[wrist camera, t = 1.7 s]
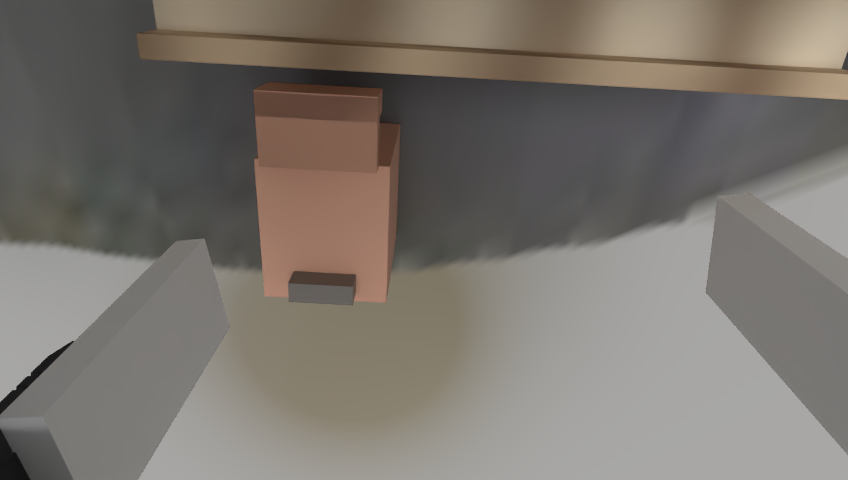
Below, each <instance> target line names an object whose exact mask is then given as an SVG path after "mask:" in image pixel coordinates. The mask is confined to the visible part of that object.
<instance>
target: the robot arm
mask: <svg viewBox="0 0 848 480" xmlns="http://www.w3.org/2000/svg"><path fill="white" fill-rule="evenodd" d="M706 293H707V294H708V295H709V296H710V298H711V299H712V300H713V301H714V302H715V303H716V305H717V306H718V307H719V308H720V309H721V310H722V311H723V313H724V314H725V315H726V316H727V317H728V318H729V319H730V320H731V322H732V323H733V324H734V325H735V326H736V327H737V329H738V330H739V331H740V332H741V333H742V334H743V335H744V337H745V338H746V339H747V340H748V341H749V342H750V343H751V345H752V346H753V347H754V348H755V349H756V350H757V351H758V352H759V354H760V355H761V356H762V357H763V358H764V359H765V360H766V362H767V363H768V364H769V365H770V366H771V367H772V369H773V370H774V371H775V372H776V373H777V374H778V375H779V376H780V378H781V379H782V380H783V381H784V382H785V383H786V385H787V386H788V387H789V388H790V389H791V390H792V392H794V394H795V395H796V396H797V397H798V398H799V399H800V401H801V402H802V403H803V404H804V405H805V406H806V408H807V409H808V410H809V411H810V412H811V413H812V414H813V416H815V418H816V419H817V420H818V421H819V422H820V423H821V425H822V426H823V427H824V428H825V429H826V430H827V431H828V433H829V434H830V435H831V436H832V437H833V438H834V439H835V441H836V442H837V443H838V444H839V445H840V446H841V448H842V449H843V450H844V451H845V452H846V453H847V454H848V259H847V258H846V257H844V256H842V255H841V254H840V253H838V252H837V251H835V250H834V249H832V248H831V247H829V246H828V245H826V244H825V243H823V242H822V241H820V240H819V239H817V238H816V237H814V236H813V235H811V234H810V233H808V232H806V231H805V230H804V229H802V228H801V227H799V226H798V225H796V224H795V223H793V222H792V221H790V220H789V219H787V218H786V217H784V216H783V215H781V214H780V213H778V212H777V211H775V210H774V209H772V208H771V207H769V206H768V205H766V204H765V203H763V202H762V201H760V200H759V199H757V198H756V197H754V196H753V195H751V194H750V193H748V194H736V195H724V196H718V200H717V208H716V216H715V223H714V232H713V239H712V248H711V255H710V263H709V271H708V280H707V287H706ZM229 328H230V326H229V323H228V320H227V316H226V312H225V309H224V305H223V302H222V298H221V295H220V291H219V288H218V284H217V281H216V277H215V274H214V270H213V267H212V263H211V260H210V256H209V253H208V249H207V246H206V242H205V239H194V240H182V241H176V242H175V243H174V244H173V245H172V246H171V247H170V248H169V249H168V250H167V251H166V252H165V253H164V254H163V255H161V256H160V257H159V258H158V259H157V260H156V261H155V262H154V263H153V264H152V265H151V266H150V267H149V268H148V269H147V270H146V271H145V272H144V273H143V274H142V275H141V276H140V277H139V278H138V279H137V280H136V281H135V282H134V283H133V284H132V285H131V286H130V287H129V288H128V289H127V290H126V291H125V292H124V293H123V294H122V295H121V296H120V297H119V298H118V299H117V300H116V301H115V302H114V303H113V304H112V305H111V306H110V307H109V308H108V309H107V310H106V311H105V312H104V313H103V314H102V315H101V316H100V317H99V318H98V319H97V320H96V321H95V322H94V323H93V324H92V325H91V326H90V327H89V328H88V329H87V330H85V332H84V333H82V334H81V335H80V336H79V338H77V339H76V340H75V341H72V342H70V343H69V344H67V345H65V346H64V347H62V348H61V349H59V350H57V351H56V352H54V353H53V354H51V355H49V356H48V357H47V358H46V359H45V360H44V361H43V362H42V363H41V364H40V365H39V366H38V367H36V368H35V370H33V372H31V376H27V377H26V378H25V379H24V380H23V381H22V382H21V383H20V384H19V385H18V386H17V387H16V388H17V389H16V390H12V392H10V393H9V394H8V395H7V396H6V397H5V398H4V399H3V400H2V401H1V402H0V480H138V479H139V477H140V475H141V473H142V472H143V470H144V469H145V467H146V465H147V464H148V462H149V460H150V459H151V457H152V455H153V454H154V452H155V450H156V449H157V447H158V445H159V444H160V442H161V440H162V439H163V437H164V435H165V434H166V432H167V430H168V429H169V427H170V425H171V424H172V422H173V421H174V419H175V417H176V416H177V414H178V412H179V411H180V409H181V407H182V405H183V404H184V402H185V400H186V399H187V397H188V395H189V394H190V392H191V391H192V389H193V387H194V386H195V384H196V382H197V381H198V379H199V377H200V376H201V374H202V372H203V371H204V369H205V367H206V366H207V364H208V362H209V361H210V359H211V357H212V356H213V354H214V353H215V351H216V349H217V348H218V346H219V344H220V343H221V341H222V339H223V337H224V336H225V334H226V333H227V331H228V329H229Z"/></svg>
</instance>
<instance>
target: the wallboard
mask: <svg viewBox="0 0 848 480" xmlns="http://www.w3.org/2000/svg"><path fill="white" fill-rule="evenodd" d="M153 6H154V13H155V20H156V27H157V30H151V31H146V32H140V33H136V36H137V43H138V49H139V56H140V59H149V60H166V61H184V62H201V63H219V64H236V65H253V66H271V67H288V68H305V69H323V70H340V71H358V72H375V73H392V74H410V75H427V76H445V77H462V78H479V79H497V80H514V81H531V82H549V83H566V84H584V85H601V86H618V87H636V88H653V89H670V90H688V91H705V92H723V93H740V94H757V95H775V96H792V97H809V98H827V99H844V100H848V70H843V69H841V68H842V65H843V63H844V60H845V57H846V54H847V51H848V0H153Z"/></svg>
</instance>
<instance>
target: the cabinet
mask: <svg viewBox="0 0 848 480" xmlns="http://www.w3.org/2000/svg"><path fill="white" fill-rule="evenodd" d="M382 94H383V89H381V88H364V87H347V86H329V85H312V84H294V83H277V82H267V83H266V84H264V85H262V86H259V87H257V88H255V89H254V90H253V96H254V109H255V122H256V135H257V149H258V156H257V157H256V158H255V159H254V166H255V178H256V191H257V204H258V217H259V229H260V242H261V255H262V267H263V280H264V292H265V296H273V297H289V302H301V303H319V304H338V305H353V302H354V301H362V302H380V303H386V301H387V294H388V287H389V281H390V275H391V268H392V261H393V255H394V248H395V242H396V233H397V205H398V176H399V148H400V124H389V123H380V116H381V113H382Z"/></svg>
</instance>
